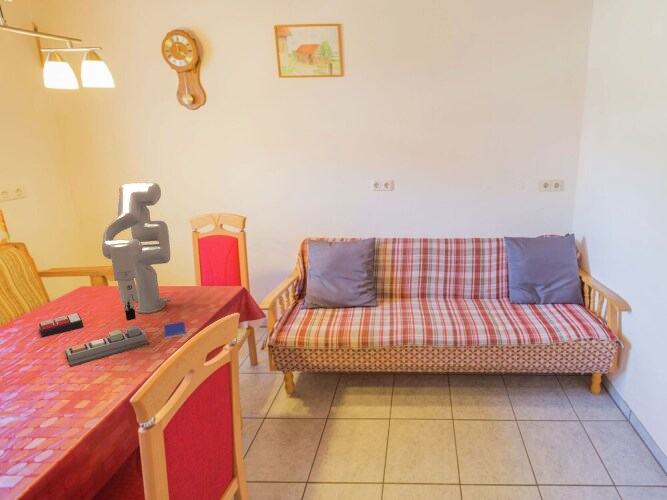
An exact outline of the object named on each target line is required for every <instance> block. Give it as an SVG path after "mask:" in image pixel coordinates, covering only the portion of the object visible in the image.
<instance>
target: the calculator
mask: <svg viewBox="0 0 667 500" xmlns="http://www.w3.org/2000/svg"><path fill="white" fill-rule="evenodd" d="M39 329H40V331H41V335H42V338H45V337H50V336H54V335H58V334H62V333H65V332H69V331H75V330H79V329H84V323H83V320H82V318H81V316H80V315H79V313H78V312H76V313H75V312H74V313H72V314H68V315H63V316H62V315H61V316H59V317H55V318H54V319H48V320H47V319H46V320H44V321H41V322H39Z"/></svg>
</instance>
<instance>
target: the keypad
mask: <svg viewBox="0 0 667 500" xmlns="http://www.w3.org/2000/svg"><path fill="white" fill-rule="evenodd" d="M139 329H140V334H139V335H136V336H132V337H129V336H128V334H127V331H126V332H124V333H123V332H122V337H123V339H121V340H117V341H114V342H111V340H110V338H109V336H107V337H105V338H104V337H103V338H102V339H103V341H104V343H105V345H102V346H98V347H95V348H92V346H91V341H88V342H85V343H83V344H84V346H85V349H86V350H84V351H80V352H76V353H72V348H71V347H72V346H69V347H66V348H65V350H64V352H65V355H66V359H67V360H68V362H69V365H70V366H69V367H74V366H77V365H82V364H85V363H88V362H92V361H96V360H99V359H102V358H105V357H106V358H107V357H109V356H113V355H117V354H119V353H122V352H127V351H130V350H134V349H137V348H140V347H144V346H148V345H150V341H149V340H148V339H147V334H146V333H145V332H144V330H143V329H142V328H139ZM116 353H117V354H116ZM112 354H113V355H112Z"/></svg>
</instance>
